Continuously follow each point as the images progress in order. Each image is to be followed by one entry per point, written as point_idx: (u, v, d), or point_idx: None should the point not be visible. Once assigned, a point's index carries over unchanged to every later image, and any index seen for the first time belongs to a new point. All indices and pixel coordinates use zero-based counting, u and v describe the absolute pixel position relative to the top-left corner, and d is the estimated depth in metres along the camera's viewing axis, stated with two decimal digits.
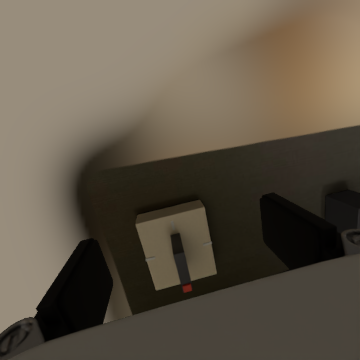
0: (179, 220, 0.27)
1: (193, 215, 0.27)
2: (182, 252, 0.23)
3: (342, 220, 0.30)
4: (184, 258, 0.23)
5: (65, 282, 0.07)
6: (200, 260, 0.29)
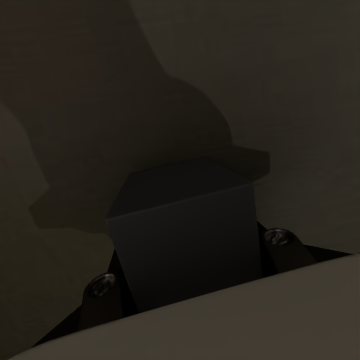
0: None
1: None
2: None
3: None
4: None
5: None
6: None
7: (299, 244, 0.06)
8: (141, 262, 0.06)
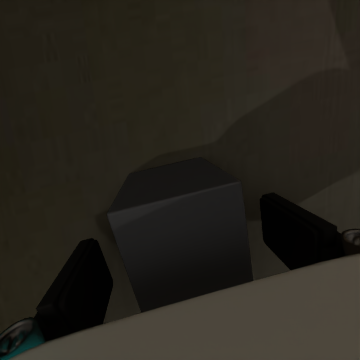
0: None
1: None
2: None
3: None
4: None
5: (65, 282, 0.07)
6: None
7: None
8: (140, 253, 0.06)
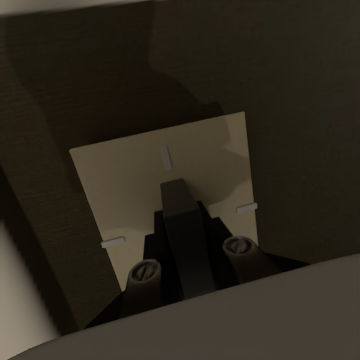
0: (182, 145, 0.11)
1: (217, 133, 0.11)
2: (193, 210, 0.07)
3: None
4: (200, 230, 0.07)
5: (164, 236, 0.08)
6: None
7: (257, 249, 0.07)
8: None
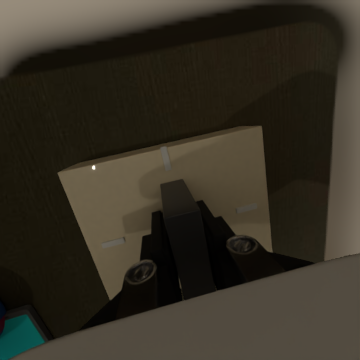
0: (254, 220, 0.13)
1: None
2: (194, 211, 0.07)
3: None
4: (200, 231, 0.07)
5: (161, 237, 0.08)
6: None
7: (261, 249, 0.07)
8: None
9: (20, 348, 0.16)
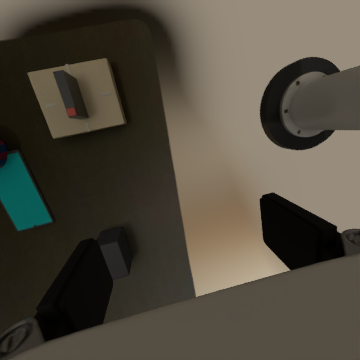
0: (111, 100, 0.31)
1: (116, 113, 0.32)
2: (61, 70, 0.25)
3: None
4: (64, 77, 0.25)
5: (65, 282, 0.07)
6: (68, 121, 0.31)
7: None
8: None
9: (14, 172, 0.34)
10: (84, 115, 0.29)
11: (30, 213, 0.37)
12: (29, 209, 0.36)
